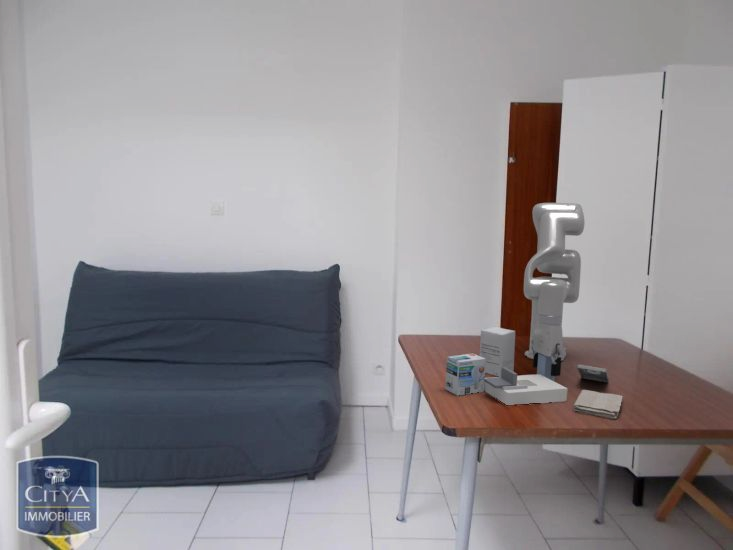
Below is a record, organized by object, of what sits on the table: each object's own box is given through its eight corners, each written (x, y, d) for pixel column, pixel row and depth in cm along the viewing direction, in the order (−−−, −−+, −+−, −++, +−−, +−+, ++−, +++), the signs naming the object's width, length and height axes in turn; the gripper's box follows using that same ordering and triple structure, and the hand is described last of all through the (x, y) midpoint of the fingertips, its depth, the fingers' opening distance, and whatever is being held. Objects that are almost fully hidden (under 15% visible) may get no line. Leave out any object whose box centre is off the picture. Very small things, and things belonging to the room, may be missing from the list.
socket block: (539, 386, 171) (540, 371, 170) (566, 401, 157) (567, 385, 157) (483, 390, 165) (484, 375, 165) (507, 406, 152) (508, 390, 151)
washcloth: (572, 413, 149) (573, 403, 148) (580, 395, 164) (581, 385, 164) (618, 422, 143) (619, 411, 143) (622, 402, 159) (623, 392, 158)
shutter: (504, 379, 163) (504, 367, 162) (516, 386, 156) (517, 373, 156) (483, 380, 161) (484, 368, 160) (495, 388, 154) (496, 375, 154)
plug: (546, 382, 175) (549, 348, 174) (554, 386, 171) (556, 351, 170) (536, 383, 174) (538, 349, 172) (543, 387, 170) (545, 352, 169)
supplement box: (491, 366, 192) (494, 326, 190) (514, 372, 185) (516, 330, 184) (477, 371, 185) (480, 329, 184) (500, 377, 179) (502, 334, 177)
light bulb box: (457, 396, 159) (459, 361, 158) (444, 389, 165) (445, 356, 164) (485, 391, 164) (487, 358, 163) (471, 385, 170) (473, 352, 169)
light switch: (609, 377, 177) (606, 366, 165) (607, 394, 175) (604, 384, 163) (582, 372, 181) (577, 361, 169) (579, 389, 179) (575, 379, 168)
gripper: (524, 315, 177) (521, 364, 179) (556, 325, 161) (552, 380, 162) (543, 314, 179) (540, 363, 181) (577, 324, 163) (573, 378, 164)
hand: (546, 371), depth 172 cm, fingers open, 9 cm apart
